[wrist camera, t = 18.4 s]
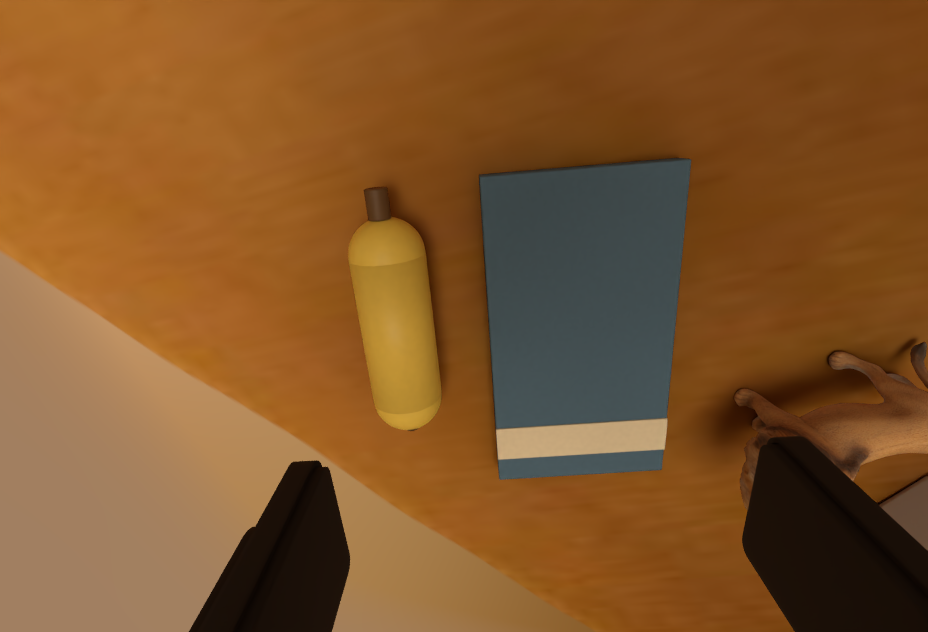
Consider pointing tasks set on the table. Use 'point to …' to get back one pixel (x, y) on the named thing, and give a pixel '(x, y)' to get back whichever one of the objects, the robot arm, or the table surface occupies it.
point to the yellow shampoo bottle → (395, 315)
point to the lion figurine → (848, 421)
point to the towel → (583, 313)
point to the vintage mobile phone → (911, 510)
